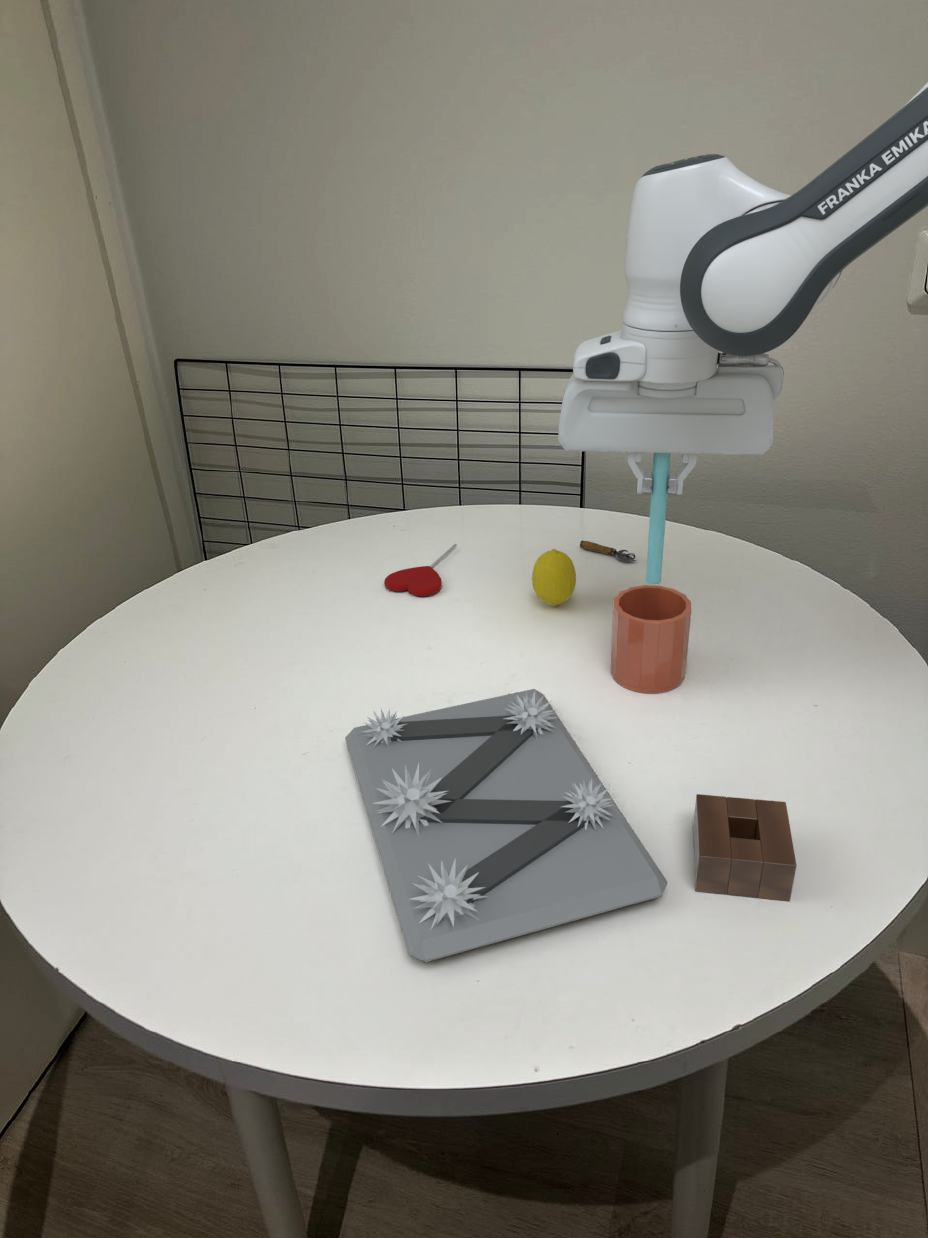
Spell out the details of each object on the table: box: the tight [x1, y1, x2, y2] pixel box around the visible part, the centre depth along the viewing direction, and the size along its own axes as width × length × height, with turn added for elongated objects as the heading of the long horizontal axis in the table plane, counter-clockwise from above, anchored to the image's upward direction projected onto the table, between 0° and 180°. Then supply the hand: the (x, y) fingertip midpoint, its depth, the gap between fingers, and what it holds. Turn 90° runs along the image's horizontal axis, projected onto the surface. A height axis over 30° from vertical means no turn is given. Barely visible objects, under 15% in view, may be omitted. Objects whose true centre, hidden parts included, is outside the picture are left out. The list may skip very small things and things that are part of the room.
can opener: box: [579, 540, 637, 562], centre depth 126 cm, size 9×2×1 cm, turn 49°
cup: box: [610, 584, 693, 695], centre depth 98 cm, size 8×8×9 cm
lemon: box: [531, 548, 577, 607], centre depth 113 cm, size 6×6×8 cm
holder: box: [692, 793, 798, 902], centre depth 75 cm, size 7×7×4 cm
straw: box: [645, 453, 671, 585], centre depth 91 cm, size 2×2×15 cm
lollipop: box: [383, 543, 457, 597], centre depth 125 cm, size 8×1×15 cm
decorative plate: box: [345, 688, 668, 963], centre depth 80 cm, size 30×22×7 cm
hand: (659, 492), depth 90 cm, fingers closed on straw, 1 cm apart
